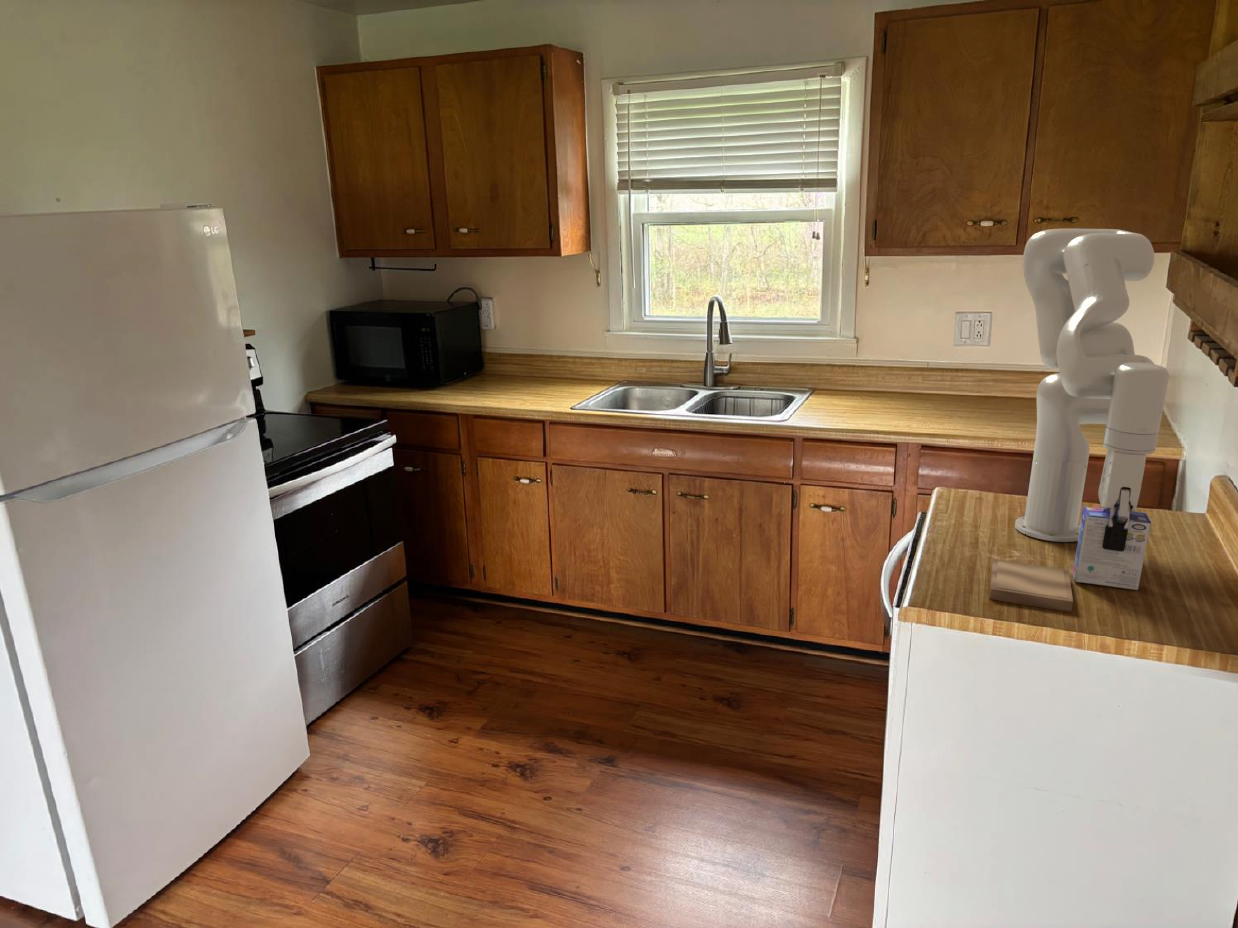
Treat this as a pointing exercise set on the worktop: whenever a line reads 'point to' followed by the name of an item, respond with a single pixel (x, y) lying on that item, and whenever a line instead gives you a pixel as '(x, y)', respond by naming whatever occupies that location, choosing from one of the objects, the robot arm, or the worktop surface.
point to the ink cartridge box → (1110, 564)
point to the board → (1031, 585)
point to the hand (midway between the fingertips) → (1111, 542)
